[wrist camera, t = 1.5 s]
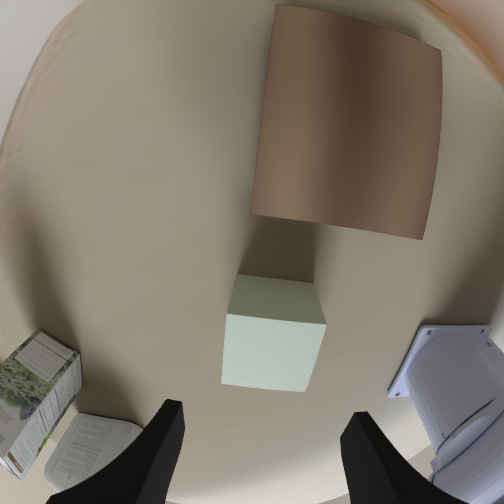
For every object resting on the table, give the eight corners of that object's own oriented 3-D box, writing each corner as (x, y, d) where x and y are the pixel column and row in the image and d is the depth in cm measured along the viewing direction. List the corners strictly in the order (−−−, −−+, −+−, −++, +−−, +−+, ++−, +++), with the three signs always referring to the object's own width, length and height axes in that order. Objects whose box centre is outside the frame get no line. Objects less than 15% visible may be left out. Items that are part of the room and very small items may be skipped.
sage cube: (313, 282, 18) (326, 324, 14) (299, 343, 20) (305, 391, 15) (237, 273, 18) (226, 313, 14) (231, 335, 20) (221, 383, 15)
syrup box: (44, 362, 23) (-22, 446, 10) (38, 325, 21) (-47, 414, 8) (83, 386, 24) (23, 484, 10) (81, 351, 22) (1, 461, 8)
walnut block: (419, 61, 13) (441, 50, 10) (401, 227, 17) (422, 240, 14) (275, 25, 13) (276, 3, 10) (253, 204, 17) (250, 213, 14)
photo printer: (90, 429, 27) (55, 496, 15) (73, 408, 26) (32, 477, 14) (153, 440, 26) (124, 524, 14) (137, 419, 25) (100, 509, 13)
